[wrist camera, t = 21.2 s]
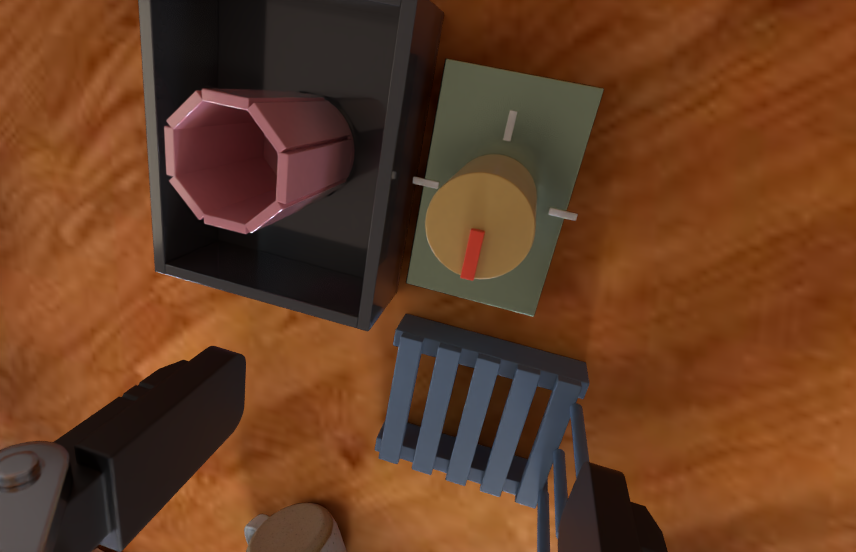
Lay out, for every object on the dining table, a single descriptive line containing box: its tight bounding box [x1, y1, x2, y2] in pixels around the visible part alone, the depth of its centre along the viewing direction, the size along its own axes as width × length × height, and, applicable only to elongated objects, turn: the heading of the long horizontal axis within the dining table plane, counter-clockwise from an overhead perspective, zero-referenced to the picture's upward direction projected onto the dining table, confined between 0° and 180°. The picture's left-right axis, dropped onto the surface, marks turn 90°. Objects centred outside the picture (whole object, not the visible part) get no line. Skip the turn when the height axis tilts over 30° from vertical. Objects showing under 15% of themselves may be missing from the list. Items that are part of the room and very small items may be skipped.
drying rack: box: [375, 314, 589, 552], centre depth 28 cm, size 12×10×9 cm
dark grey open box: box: [138, 0, 444, 331], centre depth 26 cm, size 13×16×6 cm
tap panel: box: [406, 58, 604, 316], centre depth 25 cm, size 9×12×3 cm
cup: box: [164, 88, 355, 234], centre depth 24 cm, size 6×6×8 cm
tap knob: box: [425, 154, 537, 281], centre depth 21 cm, size 4×4×6 cm
